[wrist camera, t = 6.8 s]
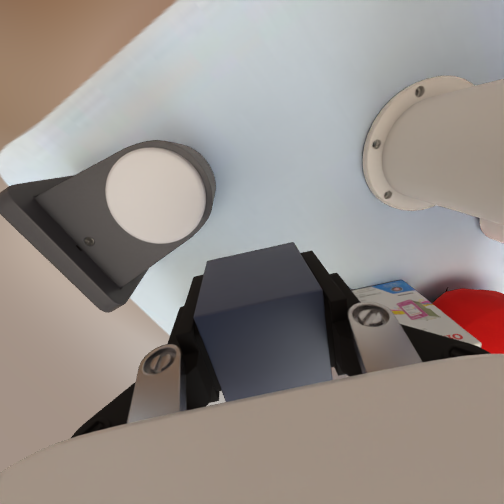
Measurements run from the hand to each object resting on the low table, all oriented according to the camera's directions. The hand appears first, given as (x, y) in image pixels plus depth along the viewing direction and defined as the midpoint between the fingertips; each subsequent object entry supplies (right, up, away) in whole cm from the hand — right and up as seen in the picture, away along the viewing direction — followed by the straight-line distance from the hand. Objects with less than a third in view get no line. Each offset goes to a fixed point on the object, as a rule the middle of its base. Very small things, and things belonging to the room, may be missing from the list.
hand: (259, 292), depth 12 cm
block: (0, 0, 0) cm, 0 cm away
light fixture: (-10, +8, +15) cm, 20 cm away
